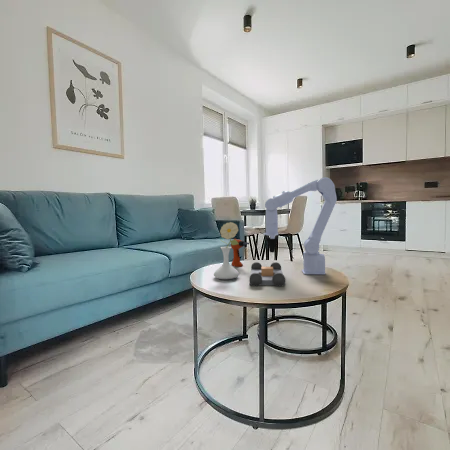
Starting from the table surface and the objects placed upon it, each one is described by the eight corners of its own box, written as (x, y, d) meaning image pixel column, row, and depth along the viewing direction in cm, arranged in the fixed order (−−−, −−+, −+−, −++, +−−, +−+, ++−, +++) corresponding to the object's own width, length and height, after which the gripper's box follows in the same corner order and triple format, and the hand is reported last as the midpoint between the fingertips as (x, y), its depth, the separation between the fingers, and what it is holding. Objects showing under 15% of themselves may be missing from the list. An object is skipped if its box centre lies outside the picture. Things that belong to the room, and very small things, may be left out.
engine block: (273, 277, 122) (272, 266, 122) (273, 280, 118) (273, 268, 117) (261, 277, 123) (261, 266, 122) (261, 280, 118) (261, 268, 118)
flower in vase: (208, 278, 122) (206, 222, 121) (225, 273, 131) (224, 221, 129) (230, 283, 114) (229, 222, 112) (247, 278, 122) (246, 221, 121)
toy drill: (246, 268, 135) (243, 237, 136) (230, 266, 152) (228, 239, 153) (254, 267, 137) (252, 237, 138) (238, 265, 154) (235, 238, 155)
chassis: (281, 272, 131) (280, 262, 131) (285, 286, 107) (285, 273, 107) (251, 272, 133) (251, 262, 132) (249, 286, 109) (249, 273, 109)
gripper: (263, 223, 140) (263, 249, 141) (263, 225, 125) (263, 254, 126) (277, 223, 139) (277, 249, 140) (279, 224, 125) (279, 254, 125)
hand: (272, 252), depth 133 cm, fingers closed
